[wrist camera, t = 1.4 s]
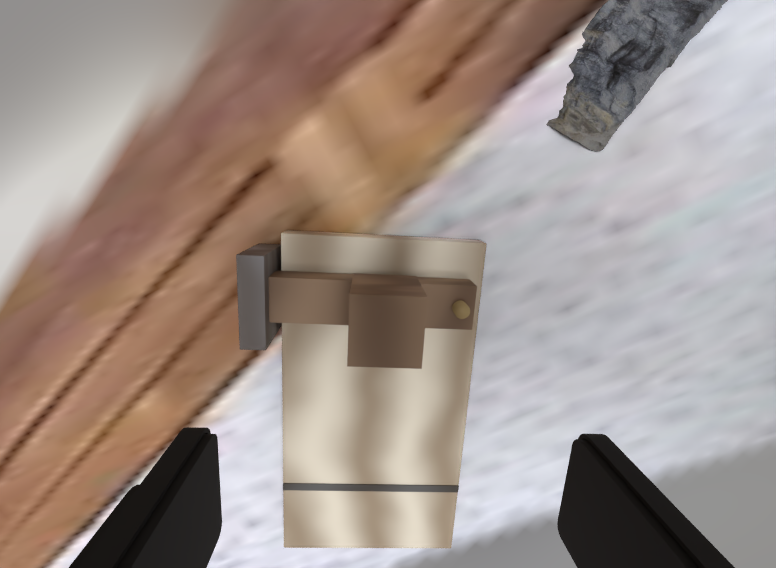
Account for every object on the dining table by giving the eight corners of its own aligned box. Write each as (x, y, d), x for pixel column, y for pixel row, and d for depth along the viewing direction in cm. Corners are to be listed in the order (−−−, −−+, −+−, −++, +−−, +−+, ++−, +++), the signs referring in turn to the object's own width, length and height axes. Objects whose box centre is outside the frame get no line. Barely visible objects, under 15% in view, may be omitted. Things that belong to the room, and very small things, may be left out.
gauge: (465, 253, 29) (506, 281, 20) (457, 330, 30) (492, 387, 21) (258, 243, 28) (209, 268, 19) (260, 323, 29) (215, 379, 21)
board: (478, 239, 29) (486, 243, 27) (446, 528, 35) (451, 549, 33) (287, 230, 28) (280, 233, 26) (288, 527, 34) (283, 548, 32)
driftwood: (582, 166, 29) (598, 164, 26) (516, 102, 27) (528, 95, 25) (803, -88, 26) (842, -113, 23) (741, -173, 24) (775, -207, 22)
